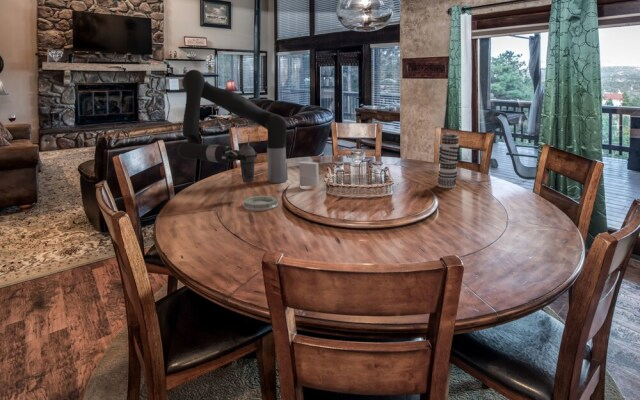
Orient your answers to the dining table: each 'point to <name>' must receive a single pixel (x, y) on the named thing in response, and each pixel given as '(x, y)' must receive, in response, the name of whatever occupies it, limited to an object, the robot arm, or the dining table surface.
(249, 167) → the beverage cup
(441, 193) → the dining table surface
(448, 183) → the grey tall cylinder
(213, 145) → the robot arm
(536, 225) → the dining table surface
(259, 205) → the rimmed coaster
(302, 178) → the grey upright block
